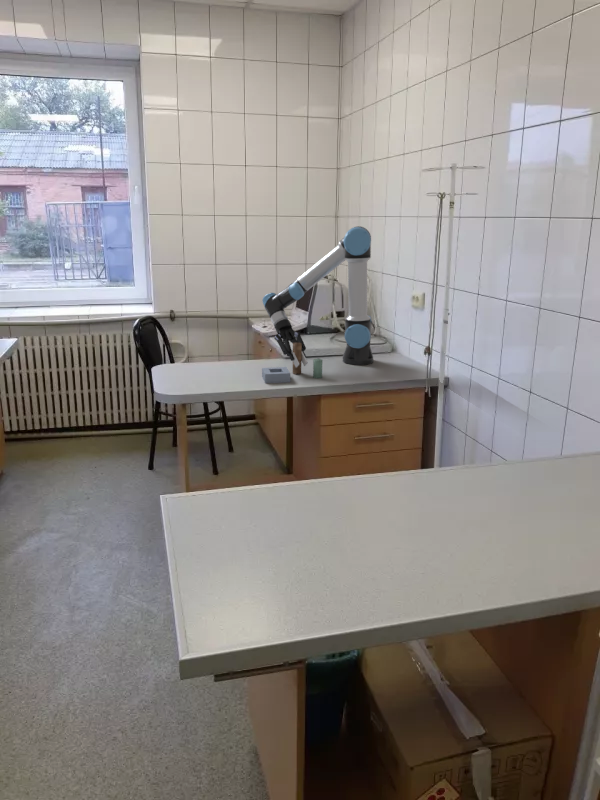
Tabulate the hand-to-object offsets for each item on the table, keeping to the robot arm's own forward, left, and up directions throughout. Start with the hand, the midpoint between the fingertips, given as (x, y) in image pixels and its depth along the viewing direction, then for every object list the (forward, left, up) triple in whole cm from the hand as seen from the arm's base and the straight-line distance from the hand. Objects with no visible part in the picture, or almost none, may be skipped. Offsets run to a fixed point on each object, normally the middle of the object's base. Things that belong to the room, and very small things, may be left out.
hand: (301, 365), depth 280 cm
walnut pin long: (+2, -3, -5) cm, 6 cm away
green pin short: (-6, +5, -5) cm, 9 cm away
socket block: (+13, +5, -5) cm, 14 cm away
